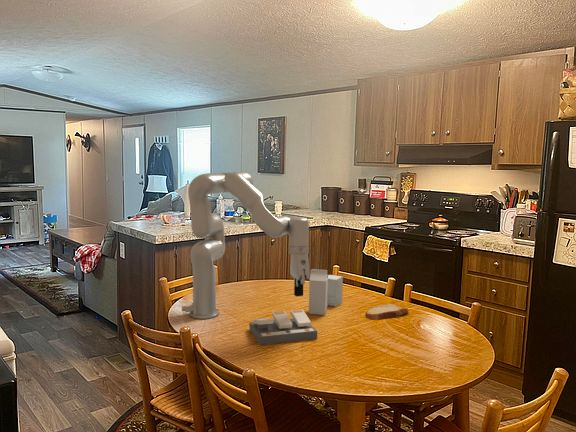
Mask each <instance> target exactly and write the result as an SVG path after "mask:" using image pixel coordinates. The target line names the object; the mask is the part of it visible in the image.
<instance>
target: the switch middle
mask: <svg viewBox="0 0 576 432" xmlns="http://www.w3.org/2000/svg"><path fill="white" fill-rule="evenodd" d="M271 316H272V319H273V320H275V322H276V323H277V325H278V327H279V329H282V328H292V322H291V321H290V319H291V318H290V317H289V316H288V314H287V312H286V311H285V310H279V311H278V310H277V311H276V310H275V311H272V312H271Z"/></svg>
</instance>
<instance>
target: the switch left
mask: <svg viewBox="0 0 576 432" xmlns="http://www.w3.org/2000/svg"><path fill="white" fill-rule="evenodd" d="M273 320H274V318H268V317H261V318H260V317H259V318H253V320H252V322H254V323H255V324H259V325H262V324H273Z"/></svg>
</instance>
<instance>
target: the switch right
mask: <svg viewBox="0 0 576 432" xmlns="http://www.w3.org/2000/svg"><path fill="white" fill-rule="evenodd" d="M289 314H290V316H291V317H292V318H293V319H294V321H295V322H296V324H297V325H298V327H302V326H312V322H311V320H310V318H309V316H308V315H307V314H306V312H305V311H304V309H303V308H301V309H300V308H298V309H297V308H296V309H290V312H289Z"/></svg>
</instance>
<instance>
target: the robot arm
mask: <svg viewBox="0 0 576 432" xmlns="http://www.w3.org/2000/svg"><path fill="white" fill-rule="evenodd" d="M253 184H254V180H253V177H252V176H251V174H250V173H248V172H246V171H233V172H213V173H212V172H210V173H209V172H208V173H202V174H199V175H197V176H195V177H194V178H193V179H192V180H191V181H190V183H189V185H188V189H187V190H188V192H187V194H188V201H189V208H190V209H189V210H190V222H191V223H190V224H191V225H190V226H191V232H192V234H193V235H194V236H195V238H198V239H204V240H201V241H198V242H196V243H195V244H194V245H193V246H192V247H191V249H190V254H189V255H190V256H189V257H190V261H191V267H192V268H191V269H192V302H191V304H190V305H187V306H186V305H185V306H181V311H182V312H185V313H187V312H188V313H189V317H191V318H194V319H197V320H199V319H200V320H203V319H204V320H205V319H206V320H207V319H212V318H216V317H219V315H220V310H219V309H218V308H216V307H217V303H216V302H217V294H216V293H217V292H216V289H217V288H216V287H217V286H216V285H217V282H216V281H217V280H216V279H217V277H216V268H215V265H214V262H215V261H217V260H219V259H221V258H222V257H223V256H224V255H225V251H226V240H225V239H226V238H225V226H224V222H223V219H222V218H221V216H220V215H218V214H217V213H214V212H213V213H212V205H211V201H210V199H209V197H208V196H209V195H212V194H220V193H229V194H231V195H232V197H234V198H235V199H236V200H237V201H239V203H240V204H241V205H242V206H243V207H245V209H246V210H247V211H248V214H249V216H250V218H251V219H252V221H253V223H254V224H255V225H256V226H257V227H258V228H259V229H261V231H263V233H265V235H267V236H269V237H271V238H275V239H276V238H281V237H283V236H285V235H288V236H289V237H288V238H289V241H288V243H289V245H288V247H289V248H288V249H289V251H288V254H289V255H290V263H289V273H290V276H291V277H292V278H293V287H294V288H293V291H294V293H293V295H294V296H295V297H303V296H304V284H306V280H310V260H309V259H310V258H309V255H308V254H309V253H310V252H309V251H310V249H309V246H310V245H309V244H310V243H309V241H310V240H309V239H310V238H309V237H310V236H309V235H310V221H309V219H308V218H306V217H293V216H292V217H291V216H287V215H280V216H274V215H273V214H272V212H270V211H269V210H268V208H266V206H265V204H264V195H263V193H262V192H261V191H260V190H259V189H258V188H256V187H255V186H254V185H253Z"/></svg>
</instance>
